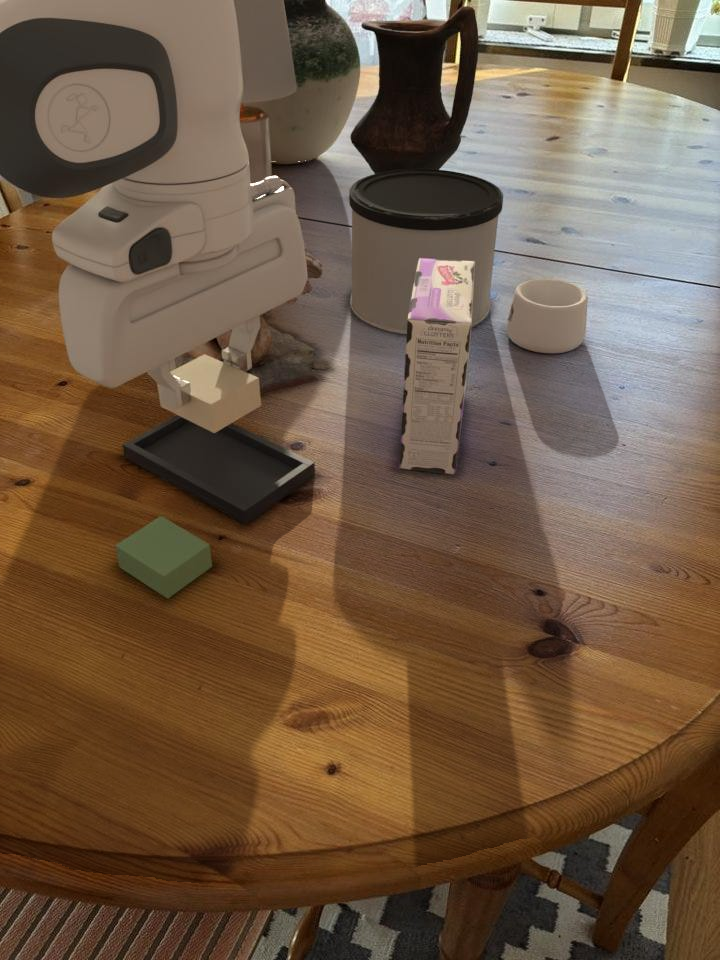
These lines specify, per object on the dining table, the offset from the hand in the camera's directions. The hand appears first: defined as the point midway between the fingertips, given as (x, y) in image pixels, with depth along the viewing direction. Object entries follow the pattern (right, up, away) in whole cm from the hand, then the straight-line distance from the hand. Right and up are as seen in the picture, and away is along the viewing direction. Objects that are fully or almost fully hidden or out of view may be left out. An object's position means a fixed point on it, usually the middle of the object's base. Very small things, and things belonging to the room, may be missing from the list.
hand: (208, 386), depth 66 cm
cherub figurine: (-3, +7, +36) cm, 37 cm away
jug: (+20, +42, +83) cm, 95 cm away
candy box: (+19, -2, +24) cm, 31 cm away
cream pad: (0, -1, +1) cm, 2 cm away
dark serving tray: (-2, -6, +18) cm, 20 cm away
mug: (+35, +11, +43) cm, 56 cm away
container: (+19, +16, +49) cm, 55 cm away
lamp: (-8, +40, +80) cm, 90 cm away
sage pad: (-5, -14, +7) cm, 17 cm away
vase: (-3, +56, +102) cm, 116 cm away
